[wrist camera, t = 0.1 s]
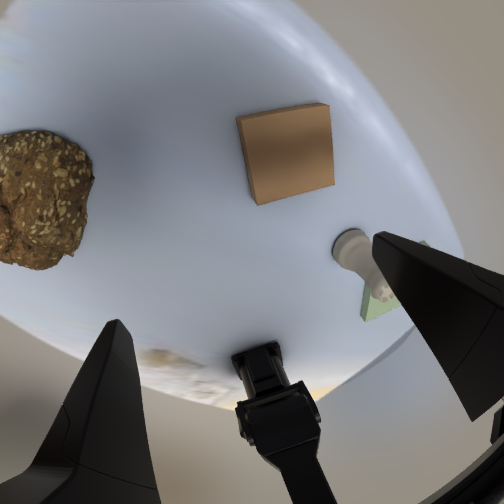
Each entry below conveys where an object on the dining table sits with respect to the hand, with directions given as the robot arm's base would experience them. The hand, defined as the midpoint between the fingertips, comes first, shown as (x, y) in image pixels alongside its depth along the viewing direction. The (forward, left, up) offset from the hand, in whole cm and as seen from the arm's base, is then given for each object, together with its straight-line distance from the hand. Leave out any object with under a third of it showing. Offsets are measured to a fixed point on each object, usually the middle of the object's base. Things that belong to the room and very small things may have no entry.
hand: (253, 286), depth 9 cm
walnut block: (-1, -7, -15) cm, 17 cm away
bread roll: (+2, +15, -15) cm, 22 cm away
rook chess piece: (-13, -13, -15) cm, 24 cm away
